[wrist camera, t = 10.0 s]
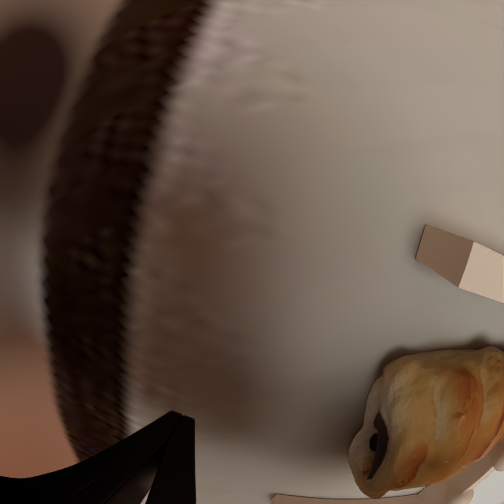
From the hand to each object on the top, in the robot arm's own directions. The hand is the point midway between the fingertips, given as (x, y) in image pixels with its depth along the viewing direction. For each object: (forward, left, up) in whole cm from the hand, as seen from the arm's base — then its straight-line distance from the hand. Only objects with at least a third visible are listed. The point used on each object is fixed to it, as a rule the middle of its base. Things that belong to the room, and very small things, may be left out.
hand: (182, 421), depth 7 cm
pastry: (+2, -10, -2) cm, 10 cm away
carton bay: (0, -10, -2) cm, 10 cm away
